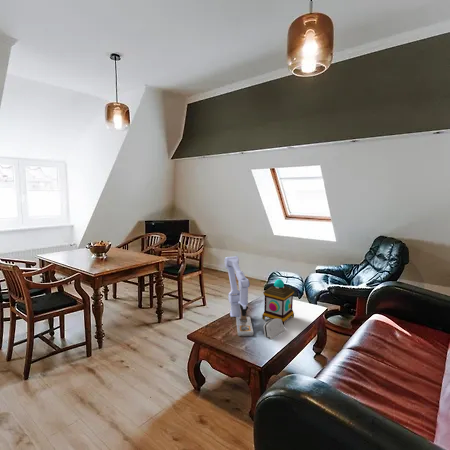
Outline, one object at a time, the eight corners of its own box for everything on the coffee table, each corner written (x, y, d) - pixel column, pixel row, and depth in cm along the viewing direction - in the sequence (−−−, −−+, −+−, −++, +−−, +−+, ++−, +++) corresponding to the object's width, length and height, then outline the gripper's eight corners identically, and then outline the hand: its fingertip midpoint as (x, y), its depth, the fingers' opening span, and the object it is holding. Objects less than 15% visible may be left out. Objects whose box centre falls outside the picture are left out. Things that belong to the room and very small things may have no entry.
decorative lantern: (284, 327, 204) (285, 286, 200) (259, 319, 216) (260, 280, 212) (296, 317, 220) (298, 278, 216) (272, 310, 232) (273, 273, 227)
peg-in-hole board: (236, 320, 216) (236, 316, 215) (249, 319, 216) (249, 316, 215) (238, 335, 194) (238, 332, 193) (253, 335, 194) (253, 331, 194)
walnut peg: (240, 317, 212) (240, 307, 211) (245, 317, 212) (246, 307, 211) (241, 320, 208) (241, 309, 207) (246, 320, 208) (246, 309, 207)
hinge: (270, 339, 189) (266, 323, 190) (265, 339, 192) (261, 323, 194) (286, 330, 200) (282, 316, 201) (281, 330, 204) (277, 316, 205)
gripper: (237, 292, 215) (237, 310, 217) (238, 300, 200) (238, 319, 202) (247, 292, 215) (247, 309, 217) (249, 300, 201) (248, 319, 203)
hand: (243, 314), depth 210 cm, fingers closed on walnut peg, 4 cm apart
